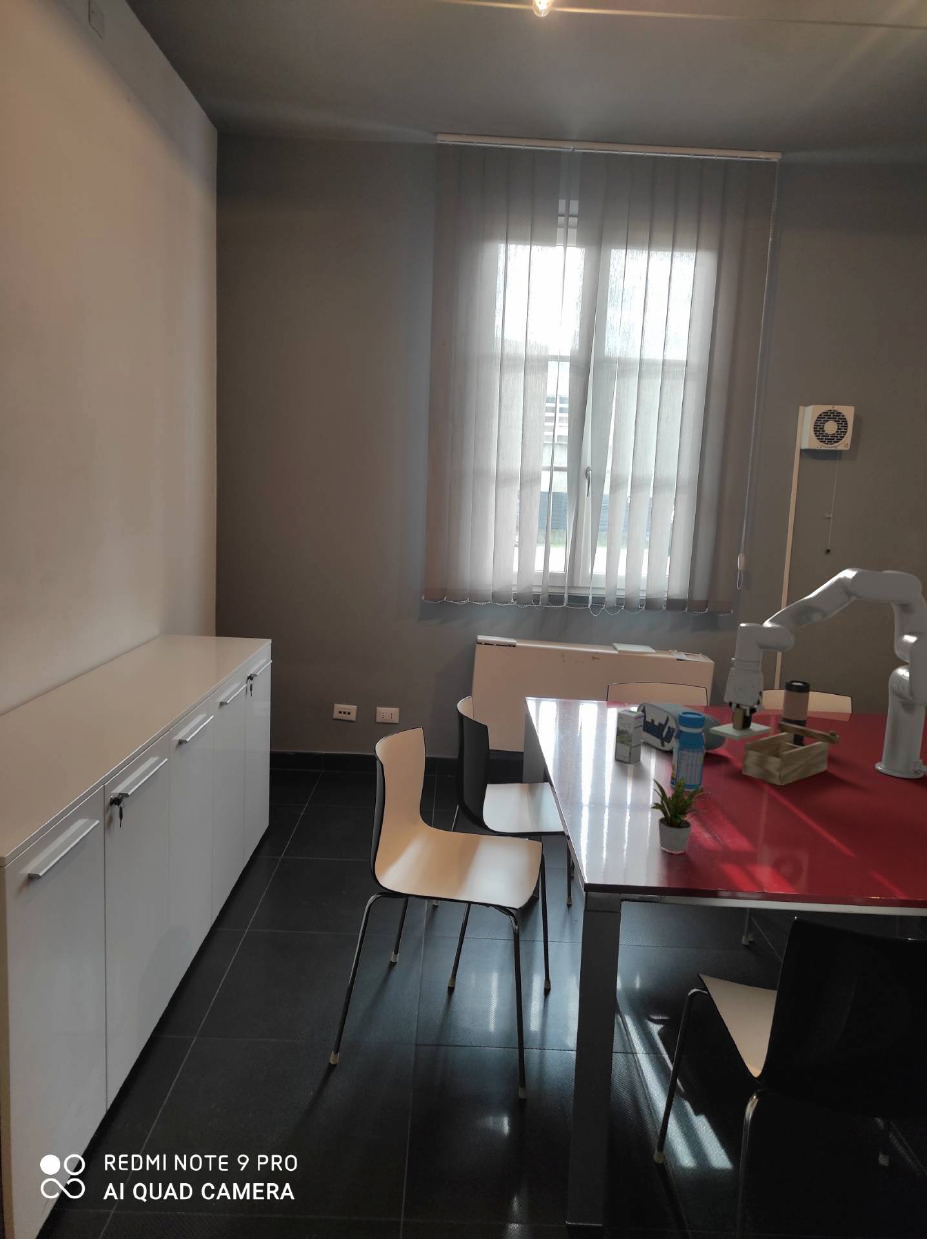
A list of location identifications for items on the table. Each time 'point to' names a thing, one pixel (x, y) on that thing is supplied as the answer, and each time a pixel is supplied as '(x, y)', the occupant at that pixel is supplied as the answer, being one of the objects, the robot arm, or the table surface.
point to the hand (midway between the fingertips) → (741, 726)
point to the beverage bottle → (689, 750)
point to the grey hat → (673, 725)
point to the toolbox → (783, 759)
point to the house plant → (676, 816)
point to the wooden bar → (809, 732)
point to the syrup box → (629, 736)
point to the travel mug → (796, 706)
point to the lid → (739, 727)
